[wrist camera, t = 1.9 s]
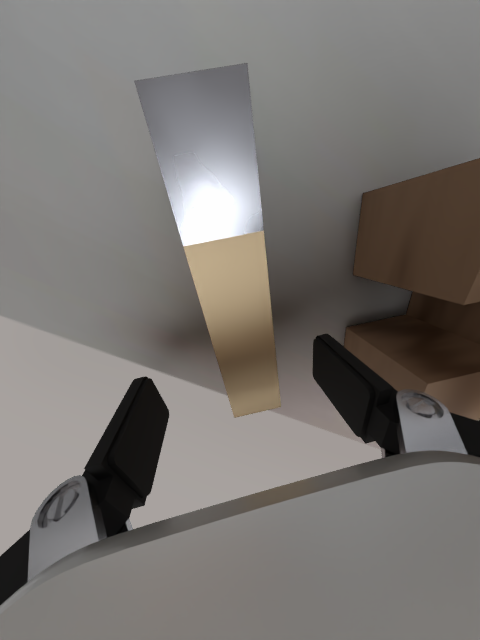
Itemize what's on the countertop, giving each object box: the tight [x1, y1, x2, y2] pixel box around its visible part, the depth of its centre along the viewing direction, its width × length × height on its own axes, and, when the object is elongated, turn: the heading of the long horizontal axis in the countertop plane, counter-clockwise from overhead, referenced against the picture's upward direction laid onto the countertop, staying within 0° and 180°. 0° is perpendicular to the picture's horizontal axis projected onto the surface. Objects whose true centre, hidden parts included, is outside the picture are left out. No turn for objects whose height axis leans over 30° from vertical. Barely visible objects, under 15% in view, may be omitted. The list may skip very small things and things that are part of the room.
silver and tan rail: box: [134, 63, 281, 418], centre depth 10 cm, size 14×3×6 cm, turn 10°
